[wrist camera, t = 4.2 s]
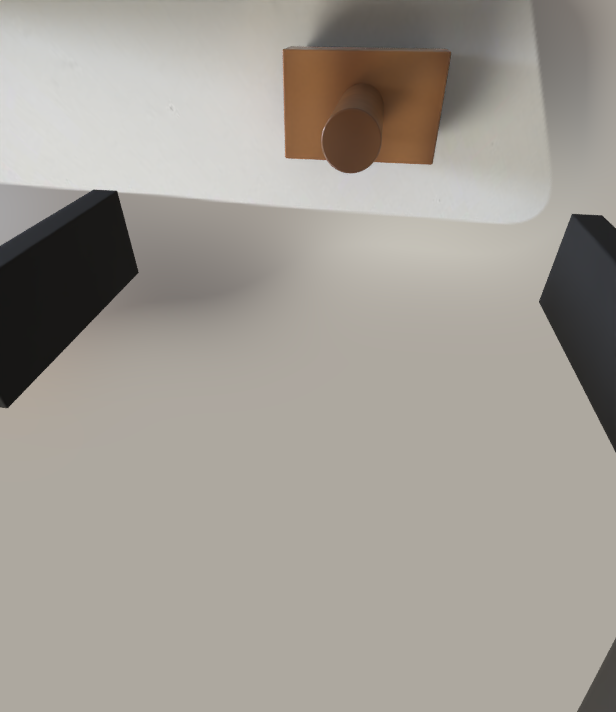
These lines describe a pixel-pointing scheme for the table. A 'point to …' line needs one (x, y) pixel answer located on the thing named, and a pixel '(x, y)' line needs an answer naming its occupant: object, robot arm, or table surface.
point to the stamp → (363, 104)
